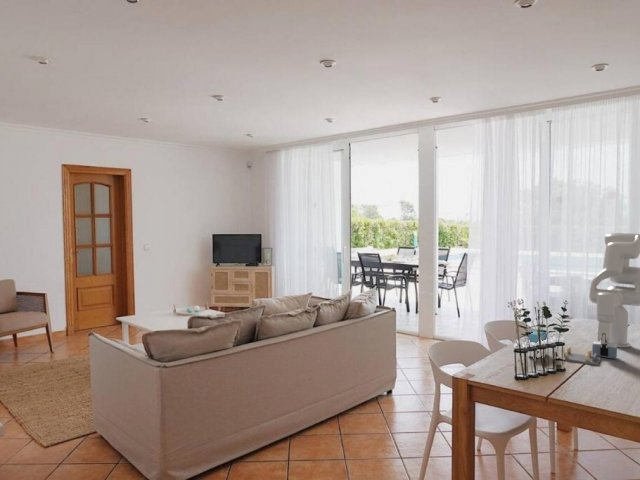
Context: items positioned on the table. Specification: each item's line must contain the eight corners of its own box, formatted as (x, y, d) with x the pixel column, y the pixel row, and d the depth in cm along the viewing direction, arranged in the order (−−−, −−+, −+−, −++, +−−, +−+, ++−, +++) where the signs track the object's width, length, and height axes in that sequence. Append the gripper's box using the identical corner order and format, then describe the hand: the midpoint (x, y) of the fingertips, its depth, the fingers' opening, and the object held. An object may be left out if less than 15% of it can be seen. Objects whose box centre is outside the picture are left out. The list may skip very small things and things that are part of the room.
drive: (593, 353, 236) (593, 341, 236) (616, 356, 230) (617, 344, 230) (592, 355, 233) (592, 343, 232) (616, 358, 227) (616, 346, 226)
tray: (559, 353, 238) (559, 345, 238) (600, 359, 228) (600, 351, 227) (555, 359, 228) (555, 350, 228) (597, 365, 218) (598, 357, 218)
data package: (537, 359, 228) (537, 334, 228) (527, 357, 232) (528, 333, 231) (547, 354, 236) (547, 330, 236) (538, 352, 240) (538, 329, 239)
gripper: (598, 313, 239) (597, 348, 240) (594, 320, 226) (593, 357, 227) (615, 315, 235) (615, 351, 236) (612, 322, 221) (611, 360, 222)
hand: (604, 354), depth 231 cm, fingers closed on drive, 4 cm apart
